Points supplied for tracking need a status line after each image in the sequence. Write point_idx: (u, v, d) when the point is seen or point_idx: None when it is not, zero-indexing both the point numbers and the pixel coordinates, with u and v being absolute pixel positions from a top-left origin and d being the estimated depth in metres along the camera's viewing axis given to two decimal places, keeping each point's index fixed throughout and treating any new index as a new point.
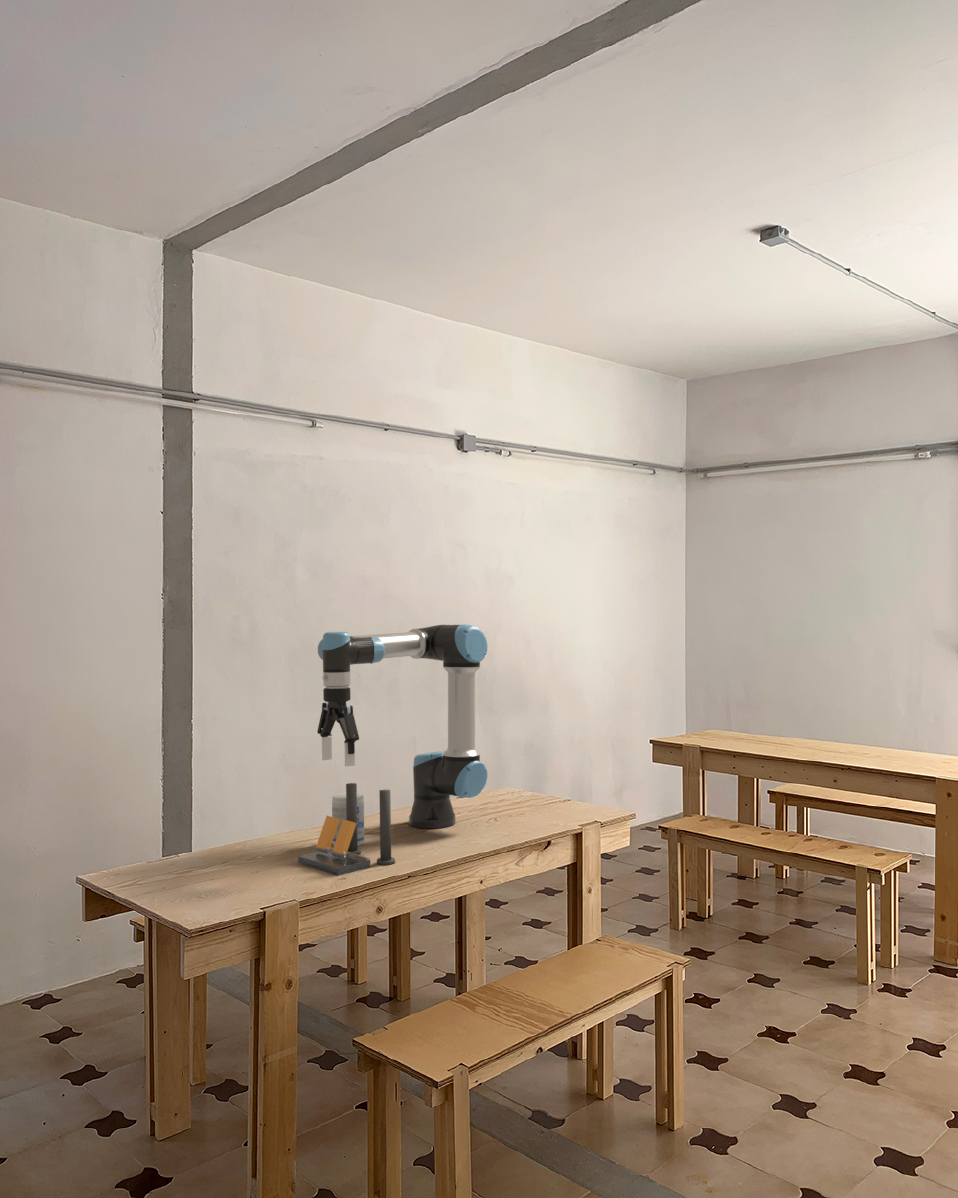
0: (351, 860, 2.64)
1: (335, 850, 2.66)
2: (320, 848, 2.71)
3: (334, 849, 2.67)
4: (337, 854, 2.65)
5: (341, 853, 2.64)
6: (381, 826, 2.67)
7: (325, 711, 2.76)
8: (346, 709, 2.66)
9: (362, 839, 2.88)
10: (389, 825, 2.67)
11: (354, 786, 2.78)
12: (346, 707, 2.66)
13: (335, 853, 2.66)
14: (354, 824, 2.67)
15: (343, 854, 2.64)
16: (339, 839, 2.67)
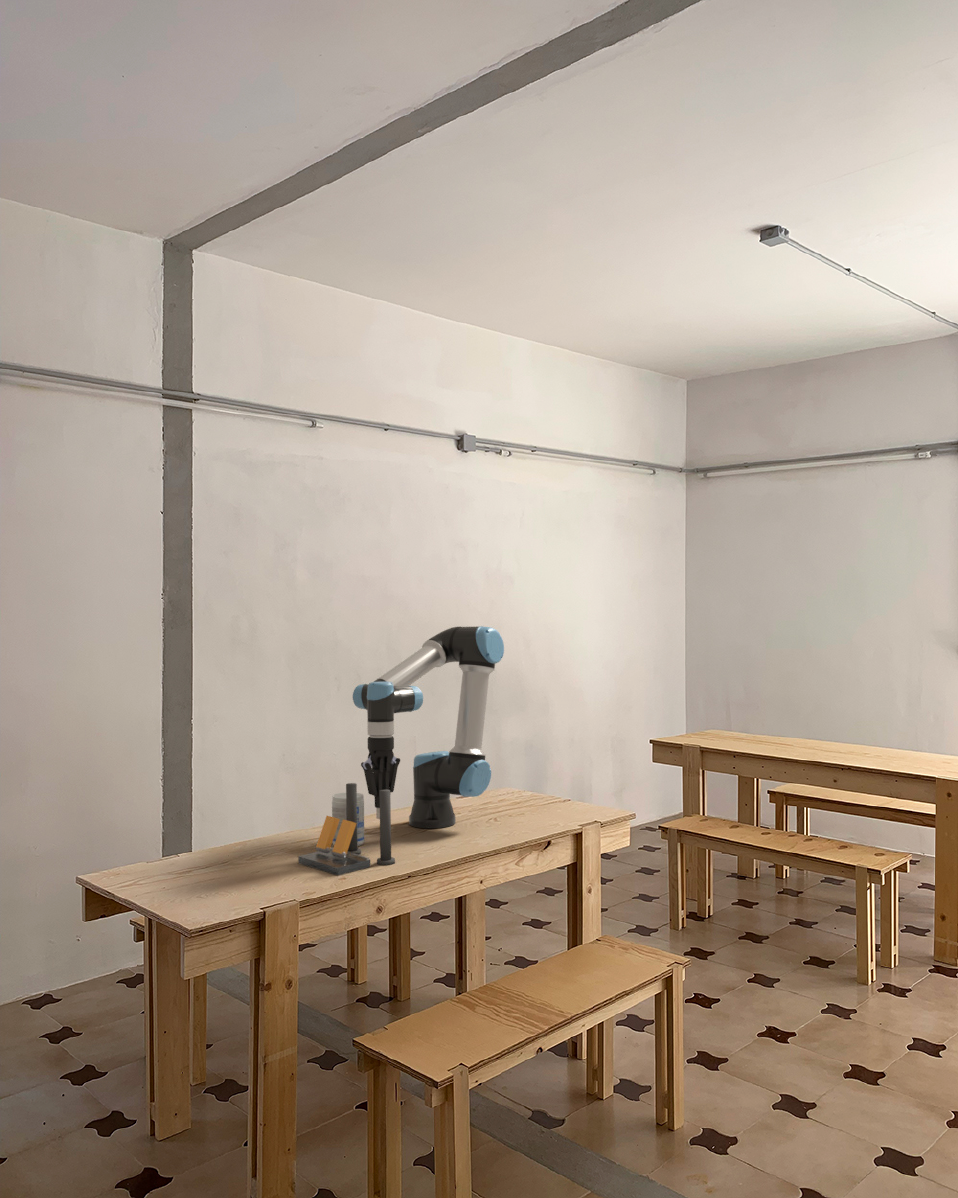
0: (351, 860, 2.64)
1: (335, 850, 2.66)
2: (320, 848, 2.71)
3: (334, 849, 2.67)
4: (337, 854, 2.65)
5: (341, 853, 2.64)
6: (381, 826, 2.67)
7: (390, 764, 2.80)
8: (362, 766, 2.73)
9: (362, 839, 2.88)
10: (389, 825, 2.67)
11: (354, 786, 2.78)
12: (362, 765, 2.73)
13: (335, 853, 2.66)
14: (354, 824, 2.67)
15: (343, 854, 2.64)
16: (339, 839, 2.67)
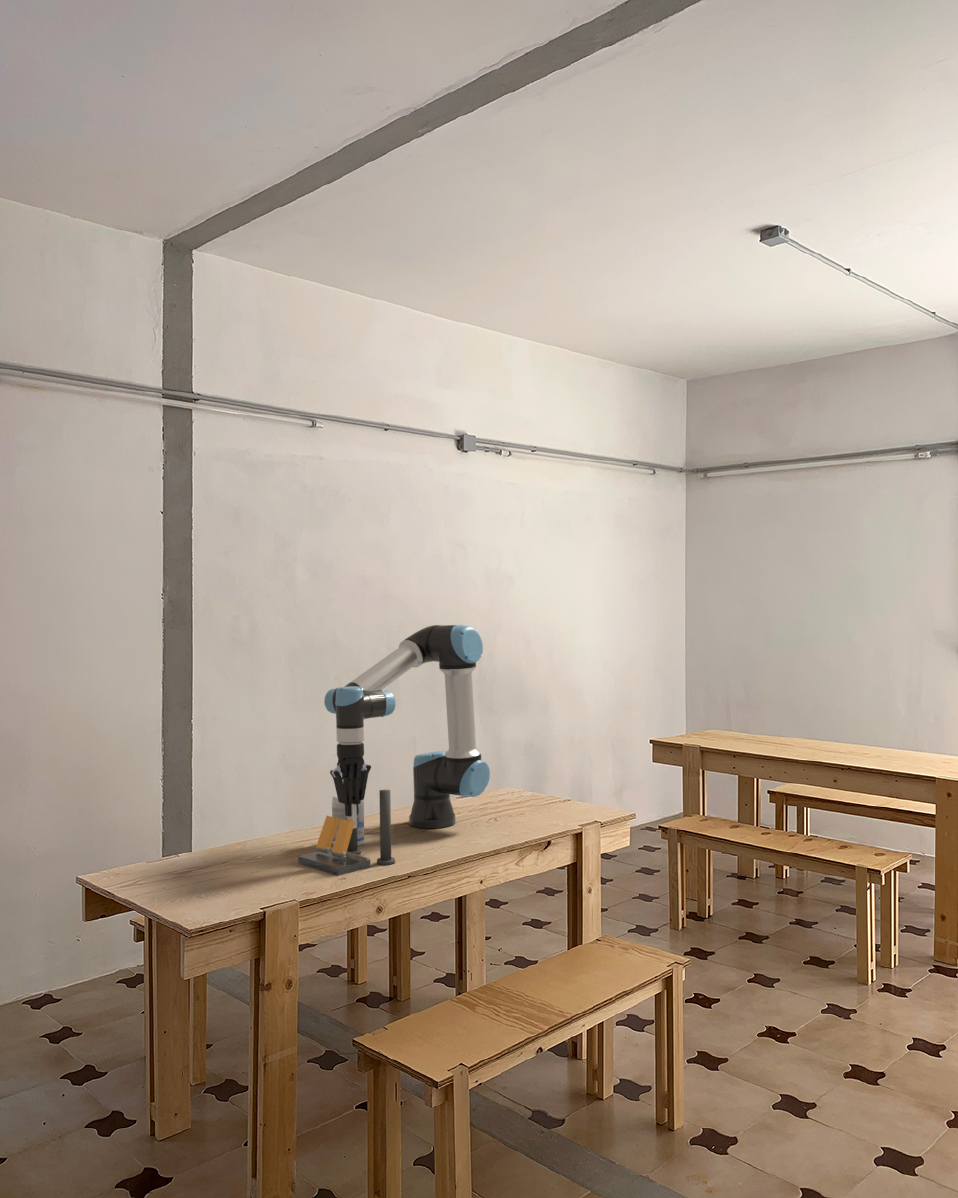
0: (351, 860, 2.64)
1: (335, 850, 2.66)
2: (320, 848, 2.71)
3: (334, 849, 2.66)
4: (337, 854, 2.65)
5: (341, 853, 2.64)
6: (381, 826, 2.67)
7: (361, 771, 2.73)
8: (331, 774, 2.65)
9: (362, 839, 2.88)
10: (389, 825, 2.67)
11: None
12: (331, 773, 2.65)
13: (335, 853, 2.66)
14: (352, 823, 2.67)
15: (343, 854, 2.64)
16: (338, 839, 2.67)
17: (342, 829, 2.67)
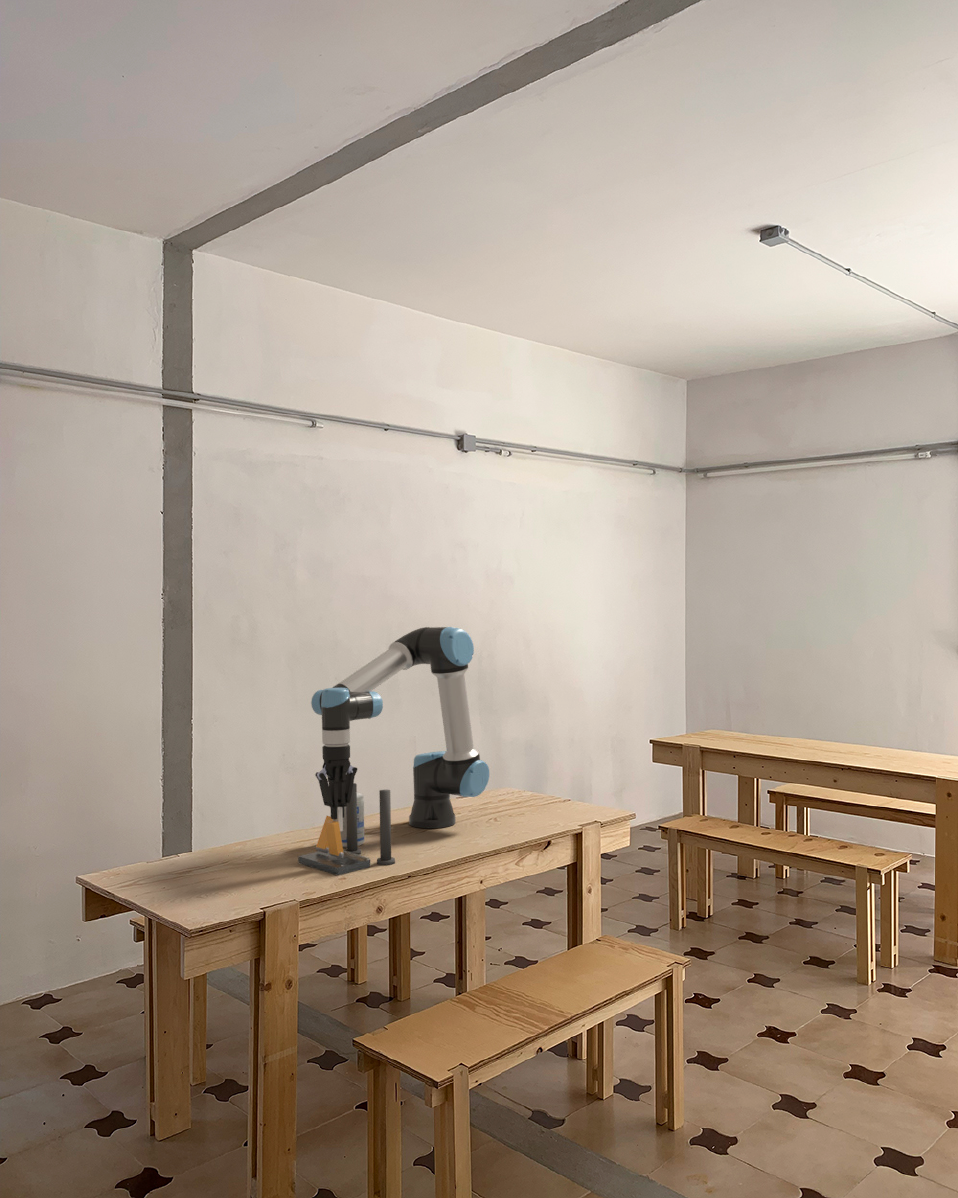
0: (351, 860, 2.64)
1: (331, 852, 2.65)
2: (320, 848, 2.71)
3: (330, 851, 2.66)
4: (335, 856, 2.65)
5: (338, 855, 2.63)
6: (381, 826, 2.67)
7: (347, 774, 2.69)
8: (317, 777, 2.62)
9: (362, 839, 2.88)
10: (389, 825, 2.67)
11: (354, 786, 2.78)
12: (316, 775, 2.62)
13: (333, 855, 2.65)
14: (337, 824, 2.63)
15: (340, 855, 2.64)
16: (330, 842, 2.65)
17: (330, 832, 2.64)
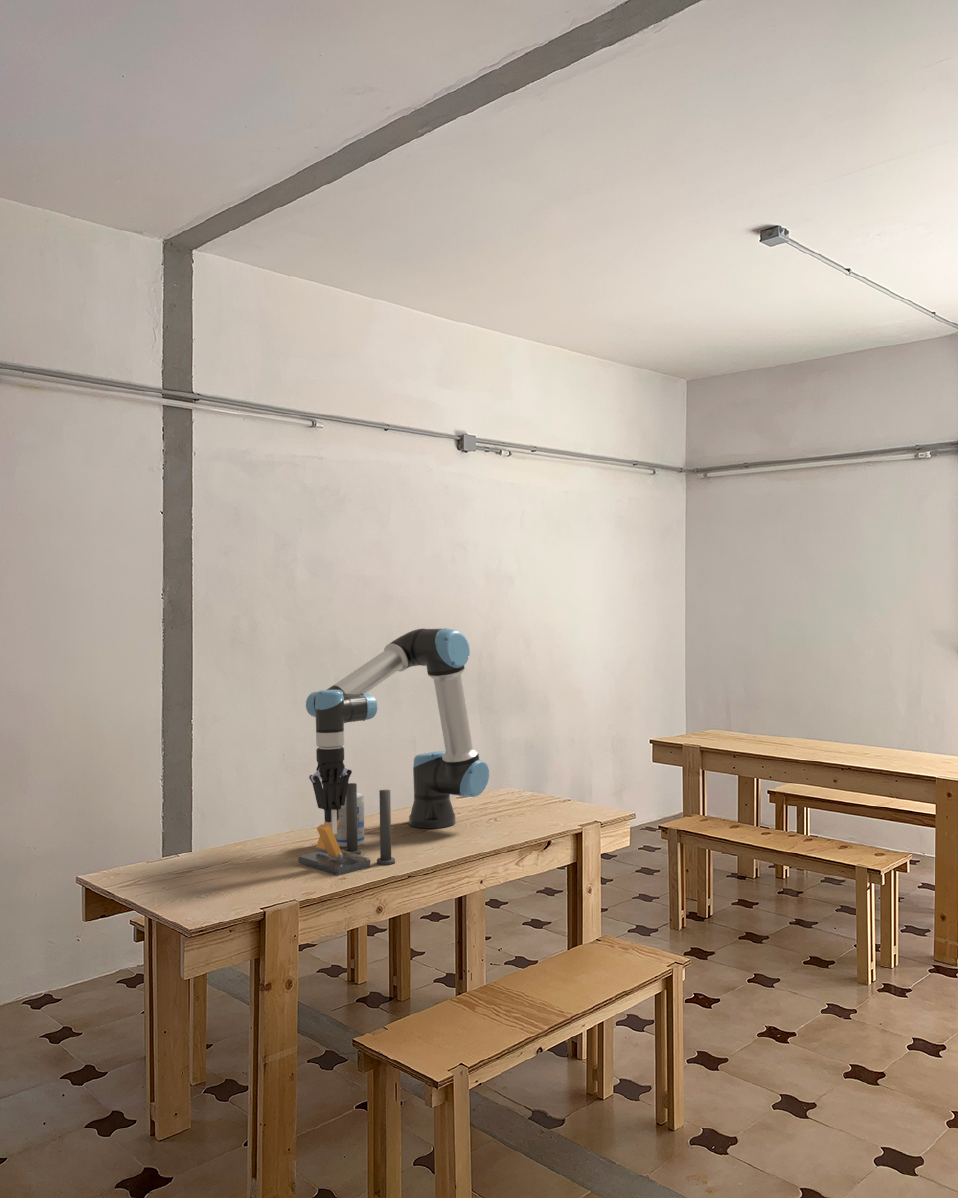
0: (351, 860, 2.64)
1: (330, 854, 2.65)
2: (320, 848, 2.71)
3: (329, 853, 2.65)
4: (334, 857, 2.64)
5: (337, 856, 2.63)
6: (381, 826, 2.67)
7: (341, 776, 2.68)
8: (311, 779, 2.60)
9: (362, 839, 2.88)
10: (389, 825, 2.67)
11: (354, 786, 2.78)
12: (310, 778, 2.60)
13: (332, 856, 2.65)
14: (329, 829, 2.61)
15: (339, 856, 2.63)
16: (326, 845, 2.64)
17: (324, 837, 2.63)
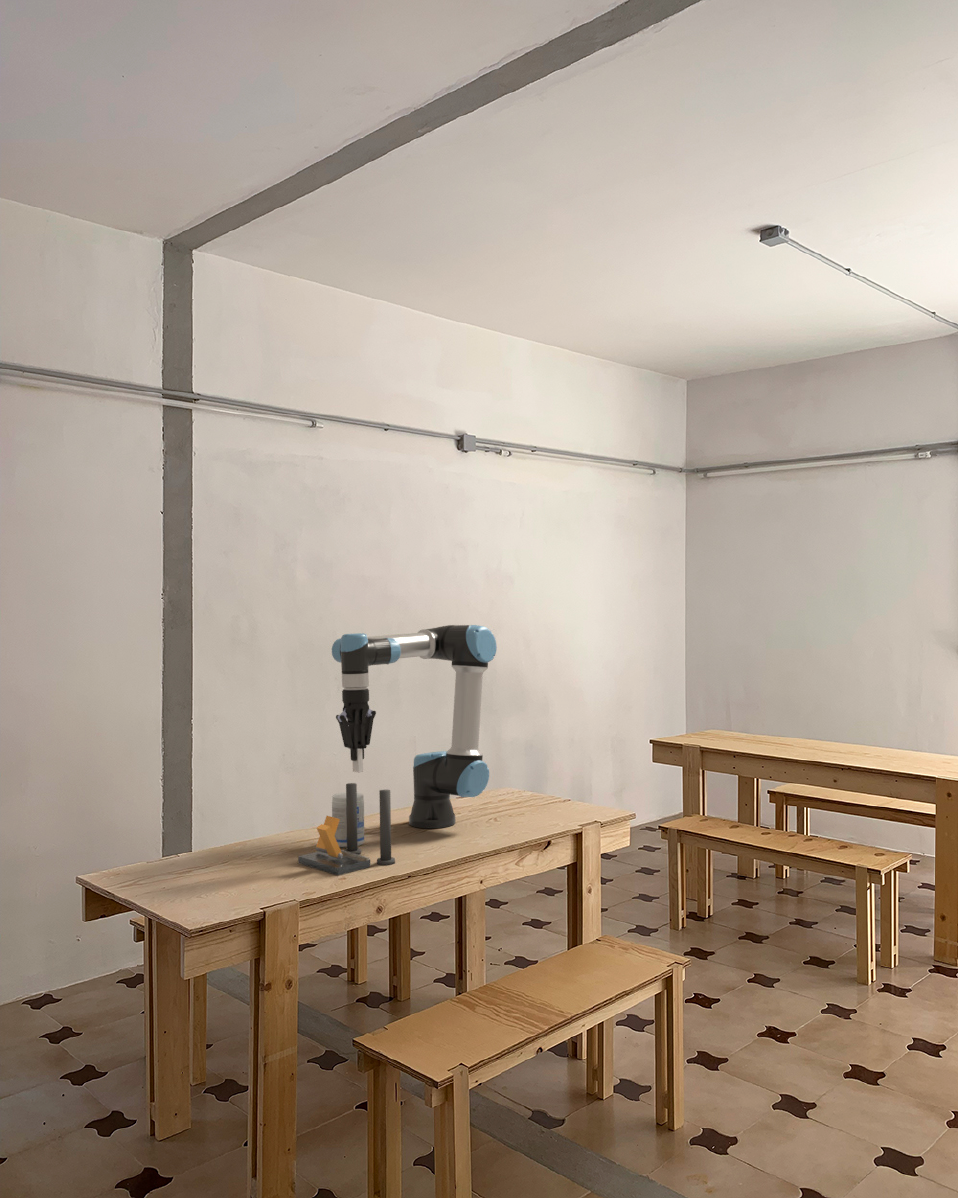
0: (351, 860, 2.64)
1: (330, 854, 2.65)
2: (320, 848, 2.71)
3: (329, 853, 2.65)
4: (334, 857, 2.64)
5: (337, 856, 2.63)
6: (381, 826, 2.67)
7: (366, 717, 2.77)
8: (337, 719, 2.70)
9: (362, 839, 2.88)
10: (389, 825, 2.67)
11: (354, 786, 2.78)
12: (337, 717, 2.69)
13: (332, 856, 2.65)
14: (329, 829, 2.61)
15: (339, 856, 2.63)
16: (326, 845, 2.64)
17: (324, 837, 2.63)
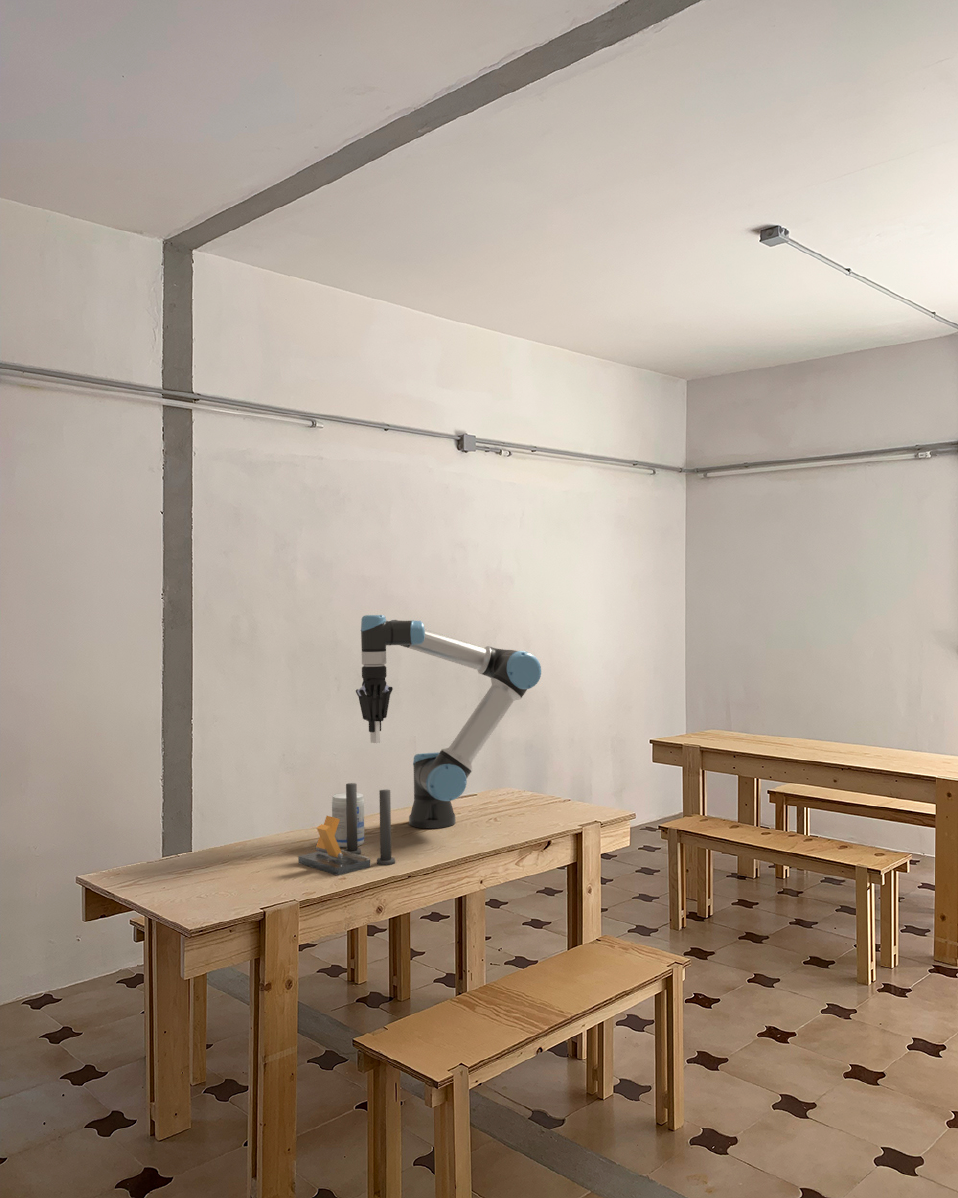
0: (351, 860, 2.64)
1: (330, 854, 2.65)
2: (320, 848, 2.71)
3: (329, 853, 2.65)
4: (334, 857, 2.64)
5: (337, 856, 2.63)
6: (381, 826, 2.67)
7: (383, 692, 3.00)
8: (357, 693, 2.92)
9: (362, 839, 2.88)
10: (389, 825, 2.67)
11: (354, 786, 2.78)
12: (356, 691, 2.92)
13: (332, 856, 2.65)
14: (329, 829, 2.61)
15: (339, 856, 2.63)
16: (326, 845, 2.64)
17: (324, 837, 2.63)
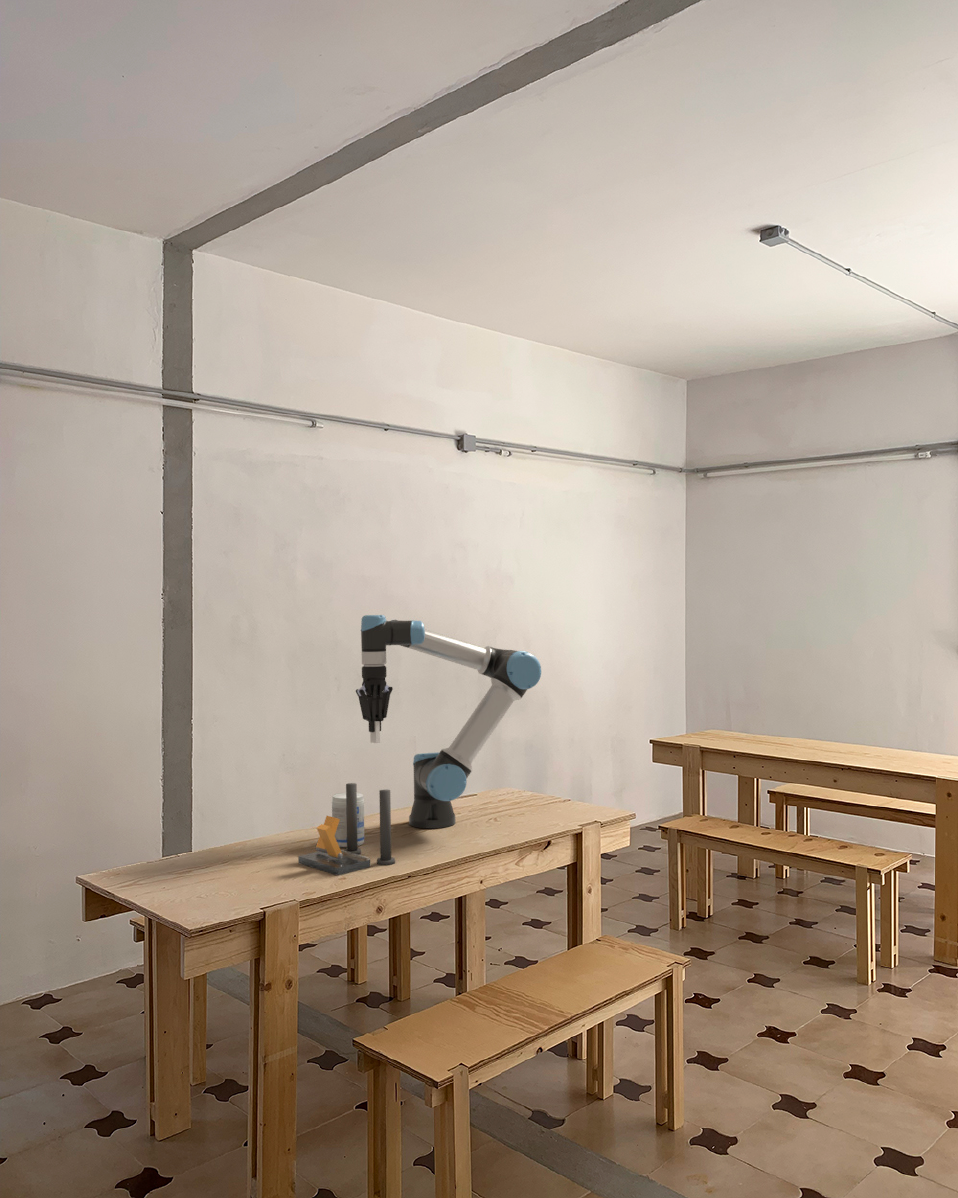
0: (351, 860, 2.64)
1: (330, 854, 2.65)
2: (320, 848, 2.71)
3: (329, 853, 2.65)
4: (334, 857, 2.64)
5: (337, 856, 2.63)
6: (381, 826, 2.67)
7: (383, 692, 3.00)
8: (357, 693, 2.92)
9: (362, 839, 2.88)
10: (389, 825, 2.67)
11: (354, 786, 2.78)
12: (356, 691, 2.92)
13: (332, 856, 2.65)
14: (329, 829, 2.61)
15: (339, 856, 2.63)
16: (326, 845, 2.64)
17: (324, 837, 2.63)
